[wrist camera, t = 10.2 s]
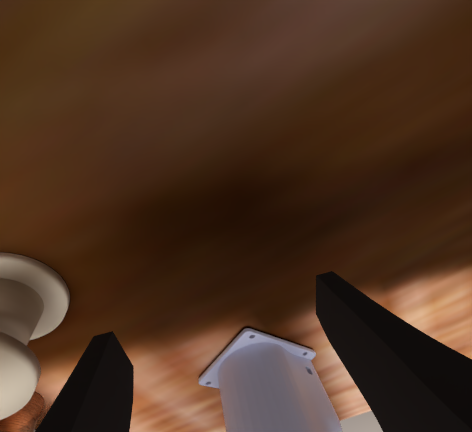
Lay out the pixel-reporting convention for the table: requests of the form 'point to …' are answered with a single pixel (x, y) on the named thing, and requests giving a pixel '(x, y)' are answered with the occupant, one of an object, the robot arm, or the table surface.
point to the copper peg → (24, 416)
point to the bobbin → (25, 324)
